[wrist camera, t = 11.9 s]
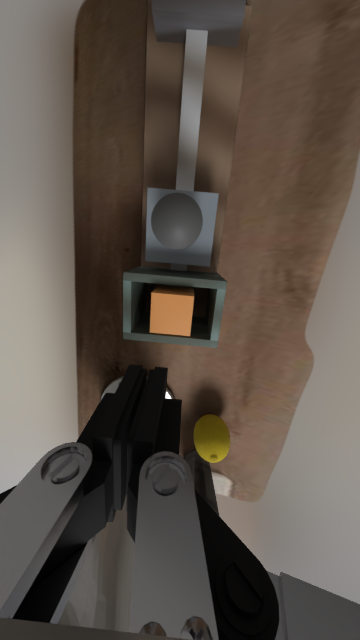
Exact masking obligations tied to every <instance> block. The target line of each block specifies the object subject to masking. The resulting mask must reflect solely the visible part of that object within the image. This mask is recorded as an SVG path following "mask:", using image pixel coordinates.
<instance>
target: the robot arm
mask: <svg viewBox="0 0 360 640" xmlns="http://www.w3.org/2000/svg"><path fill="white" fill-rule="evenodd" d="M167 371H168V368H163V367H155V370H150V372H149V375H148V376H147V369H143V366H142V365H131V364H130V365H129V367H128V369H127V371H126V373H125V375H124V376H122V377H119V378H117V379H115V380H114V381H112V382H111V383H110V384H109V385H108V386H107V388H106V389H105V391H104V393H103V395H102V397H101V401H100V403H99V405H98V406H97V408H96V410H95V411H94V413H93V415H92V416H91V418H90V420H89V422H88V423H87V425H86V427H85V428H84V430H83V432H82V433H81V435H80V437H79V438H78V440H77V442H72V443H65V444H63V445H60V446H57V447H55V448H54V449H52V450H51V451H49V452H48V453H47V454H45V455H44V456H43V457H42V458H41V459H40V461H39V462H38V463H37V464H36V465H35V466H34V467H33V468H32V469H31V470H30V472H29V473H28V474H27V475H26V476H25V477H24V478H23V480H22V481H21V482H20V483H19V484H18V485H16V486H14V487H13V488H11V489H9V490H7V491H5V492H3V493H1V494H0V640H360V604H358V603H355V602H353V601H350V600H348V599H345V598H343V597H341V596H338V595H336V594H333V593H331V592H329V591H326V590H324V589H321V588H319V587H316V586H314V585H311V584H309V583H307V582H304V581H302V580H300V579H297V578H294V577H292V576H290V575H287V574H285V573H283V572H281V573H280V576H278V575H275V574H273V573H271V572H268V571H266V570H265V568H264V567H263V565H262V564H261V563H260V561H259V560H258V559H257V558H256V557H255V556H254V555H253V553H252V552H251V551H250V550H249V549H248V548H247V547H246V546H245V544H244V543H243V542H242V541H241V540H240V539H239V538H238V537H237V536H236V534H235V533H234V532H233V531H232V530H231V529H230V528H229V527H228V526H227V524H226V523H225V522H224V521H223V520H222V519H221V518H220V517H219V515H218V514H217V513H216V512H215V511H214V510H213V509H212V508H211V507H210V505H209V504H208V503H207V502H206V501H205V500H204V499H203V498H202V496H201V495H200V494H199V493H198V492H197V491H196V490H195V489H194V485H193V478H192V473H191V470H190V467H189V465H188V463H187V462H186V460H185V459H184V458H182V457H181V456H180V455H179V445H180V425H181V405H182V400H179V399H174V397H173V395H172V393H171V392H170V390H169V389H168V388H167V387H166V385H167Z"/></svg>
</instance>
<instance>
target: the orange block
mask: <svg viewBox="0 0 360 640" xmlns="http://www.w3.org/2000/svg"><path fill="white" fill-rule="evenodd" d="M193 304H194V289H188V288H176V287H165V286H157V287H156V288H155V289H154V290H153V291H152V293H151V316H150V333H161V334H171V335H182V336H190V332H191V323H192V313H193Z"/></svg>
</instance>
